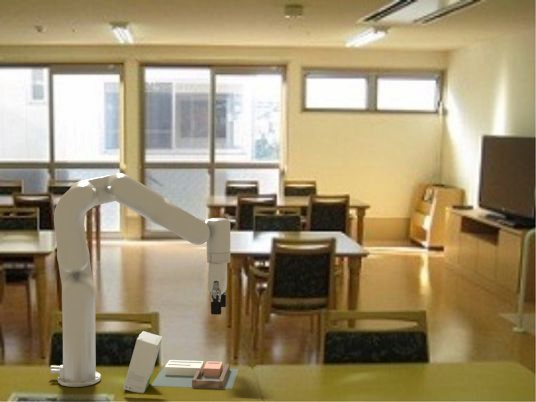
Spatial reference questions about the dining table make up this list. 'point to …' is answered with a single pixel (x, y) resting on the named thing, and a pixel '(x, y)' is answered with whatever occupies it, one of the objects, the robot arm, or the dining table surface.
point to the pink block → (213, 369)
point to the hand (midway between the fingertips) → (218, 310)
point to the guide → (211, 383)
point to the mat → (187, 380)
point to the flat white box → (183, 367)
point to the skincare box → (142, 362)
